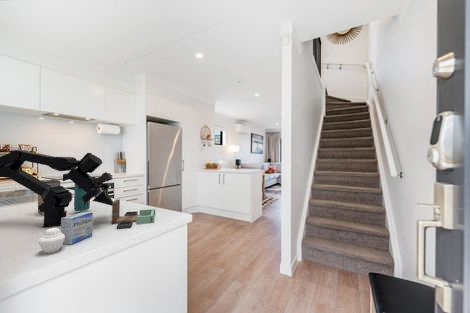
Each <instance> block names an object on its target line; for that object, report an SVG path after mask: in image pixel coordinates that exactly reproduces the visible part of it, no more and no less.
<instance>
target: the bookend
mask: <svg viewBox="0 0 470 313" xmlns="http://www.w3.org/2000/svg"><path fill="white" fill-rule="evenodd" d="M120 200H121V199H115V200H113V203H112V206H111V225H118V223H119V222H129V221H133V223H134V222H135V223H136V217H137V216H142V215H140V214H137V215H134V216H125V215H120V211H121V210H120V209H121V208H120V207H121V206H120V203H121V202H120Z"/></svg>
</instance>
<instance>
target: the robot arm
mask: <svg viewBox="0 0 470 313" xmlns="http://www.w3.org/2000/svg"><path fill="white" fill-rule="evenodd" d="M25 162H28V163H34V164H38V165H44V166H47V167H49V168H50V169H53V170H54V171H58V172H67V173H63V174H62V182H66V181H68V180H70V181H71V182H73V184H74V185H75V184H76V185H78V186H79V187H78V189H83V190H84V191H85V192H86V194H85V195H84V196H83V197H82V201H83V202H85V203H88V202H89V200H90V201H91V200H92V202H95V203H99V204H100V203H101V204H103V205H108V206H111V207H112V203H113V202H114V200H113V199H112V197H111V196H110V194H109V188H110V187H111V184H110V183H109V182H110V181H113V178H114V177H113V175H112V174H111V173H110V172H107V171H105V172H104V173H102V174H101V176H98V177H96V176H91V175H90V174H92V173H94V172H95V171H96V170H97V169H98V168H99V167H100V166H101V165H102V164H103V160H102V159H101V158H100V157H99V156H96V155H95V154H93V153H92V152H87V153H86V154H84V156H82V158H81V159H80V160H78V159H77V158H75V157H73V156H54V155H50V154H48V155H47V154H43V153H40V152H39V153H37V152H33V151H28V150H26V149H22V150H21V149H15V150H12V151H10V152H8V153H6V154H4V155H1V156H0V177H2V178H6V179H10V180H12V181H14V182H16V183H17V184H18V185H21V186H22V187H24V188H25V189H28V190H30V191H31V192H33V193H34V194H37V196H38V195H40V196H41V198H42V200H43V203H42V204H41V205H40V206H39V210H40V212H44V216H43V225H42V228H48V227H50V228H51V227H55V226H61V218H63V217H67V210H65V209H66V208H68V207H69V205H70V203H71V202H72V200H73V194H72V192H71V191H70V189H67V188H65V187H64V186H63V185H60V186H56V187H51V186H50V185H48V184H46V183H44V182H43V181H41V179H39V178H38V177H36V176H34V175H32V174H30V173H28V172H27V171H25V170H24V169H23V168H22V165H24V164H25Z"/></svg>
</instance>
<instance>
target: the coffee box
mask: <svg viewBox="0 0 470 313" xmlns="http://www.w3.org/2000/svg"><path fill="white" fill-rule="evenodd" d="M40 180H41V179H40ZM41 181H43V182H44V183H46V184H48V185H50V186H51V187H56V186H61V181H60V180H57V179H54V178H53V179H42V180H41ZM42 203H43V200H42V198H41V196H40V195H38V194H37V214H39V215H41V216H42V217H44V212H40V210H39V206H40V205H41V204H42Z"/></svg>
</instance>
